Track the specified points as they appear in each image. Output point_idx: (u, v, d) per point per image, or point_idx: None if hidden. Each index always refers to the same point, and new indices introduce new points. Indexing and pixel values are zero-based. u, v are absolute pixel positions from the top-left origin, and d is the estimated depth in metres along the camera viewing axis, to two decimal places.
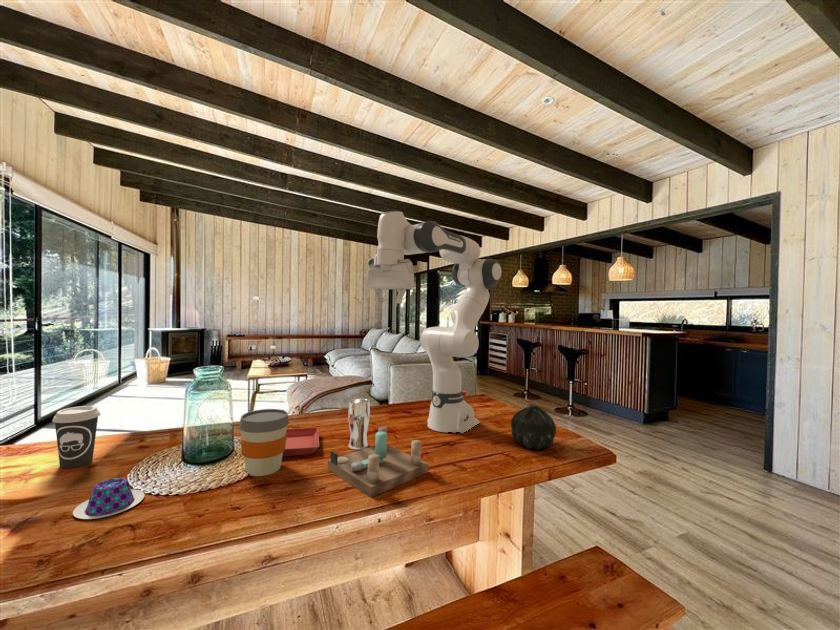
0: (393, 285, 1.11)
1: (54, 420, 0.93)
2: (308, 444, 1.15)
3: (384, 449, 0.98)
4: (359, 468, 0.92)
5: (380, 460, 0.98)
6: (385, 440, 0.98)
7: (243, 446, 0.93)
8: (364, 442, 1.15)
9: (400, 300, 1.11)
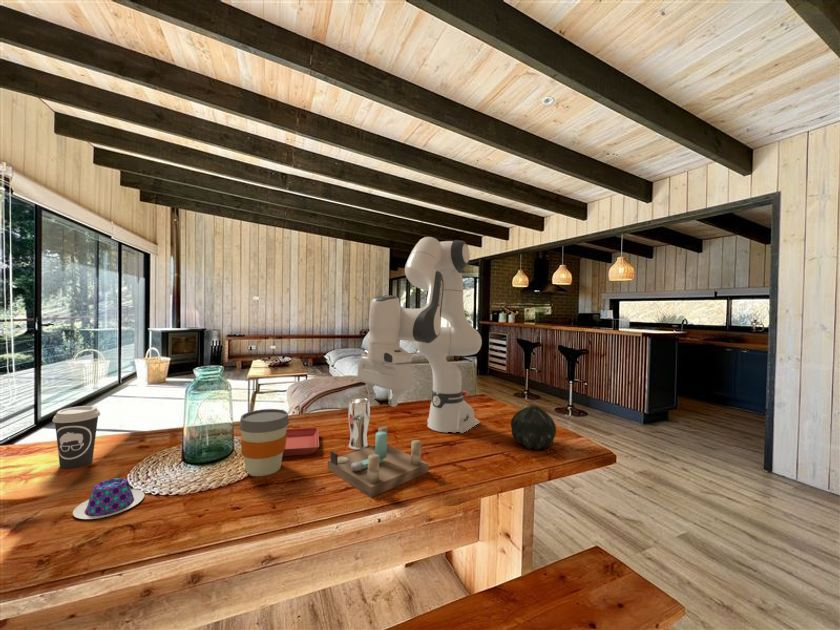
0: None
1: (54, 420, 0.93)
2: (308, 444, 1.15)
3: (384, 449, 0.98)
4: (359, 468, 0.92)
5: (380, 460, 0.98)
6: (385, 440, 0.98)
7: (243, 446, 0.93)
8: (364, 442, 1.15)
9: None
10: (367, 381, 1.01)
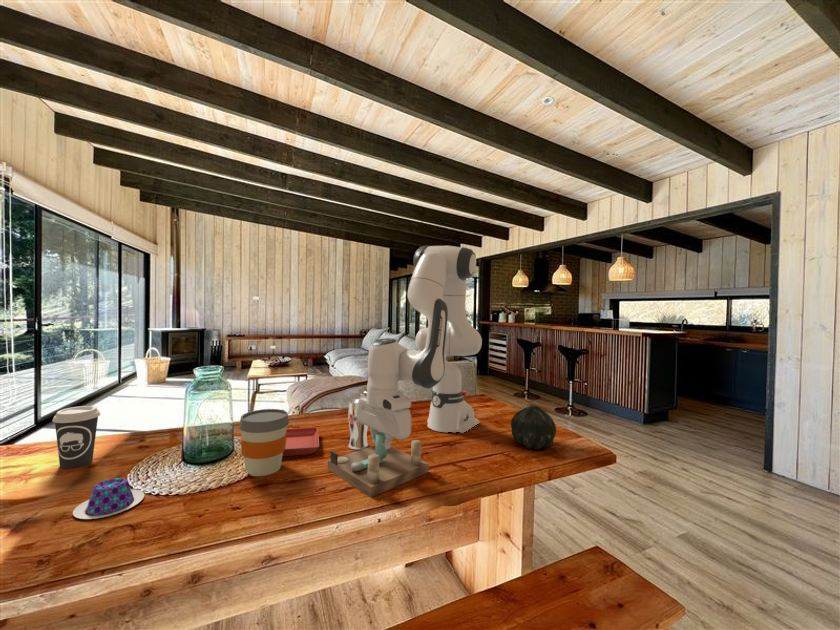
0: None
1: (54, 420, 0.93)
2: (308, 444, 1.15)
3: (384, 449, 0.98)
4: (359, 468, 0.92)
5: (380, 460, 0.98)
6: None
7: (243, 446, 0.93)
8: (364, 442, 1.15)
9: None
10: (366, 423, 1.01)
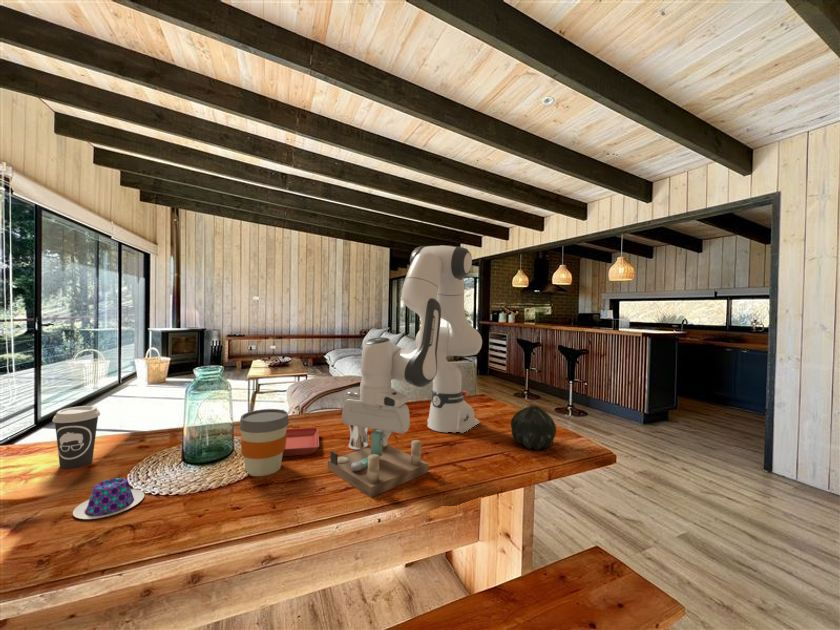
0: None
1: (54, 420, 0.93)
2: (308, 444, 1.15)
3: (380, 447, 0.99)
4: (360, 468, 0.93)
5: None
6: (381, 438, 1.00)
7: (243, 446, 0.93)
8: (364, 442, 1.15)
9: None
10: (357, 424, 1.00)
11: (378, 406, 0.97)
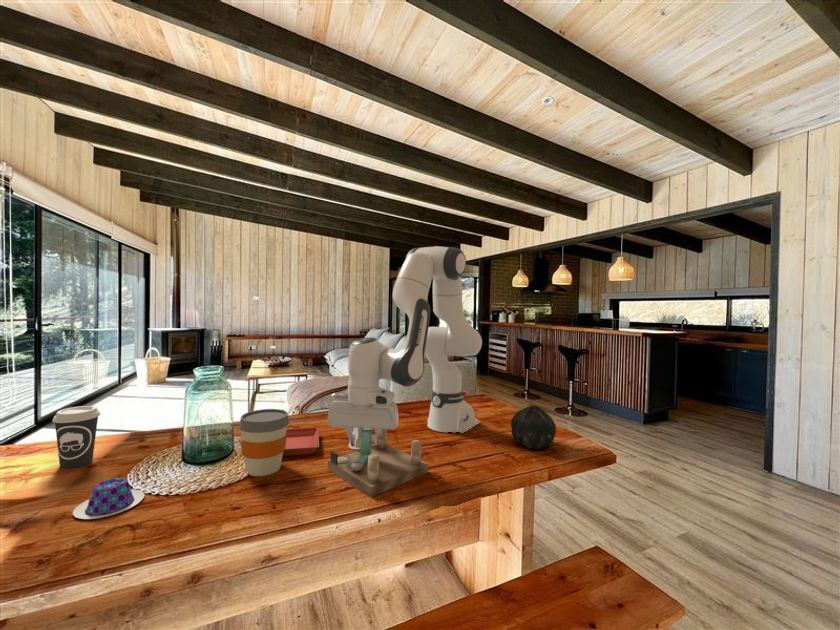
0: None
1: (54, 420, 0.93)
2: (308, 444, 1.15)
3: None
4: (362, 467, 0.93)
5: None
6: (371, 435, 1.01)
7: (243, 446, 0.93)
8: None
9: None
10: (345, 425, 1.00)
11: (368, 405, 0.99)
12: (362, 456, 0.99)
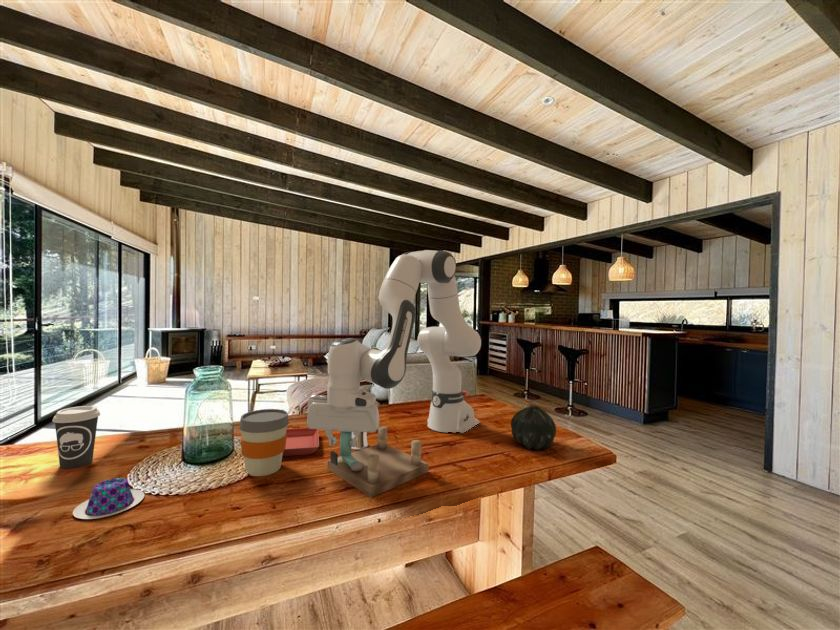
0: None
1: (54, 420, 0.93)
2: (308, 444, 1.15)
3: None
4: None
5: None
6: None
7: (243, 446, 0.93)
8: (364, 442, 1.15)
9: None
10: (324, 427, 0.98)
11: (348, 407, 0.96)
12: (348, 457, 0.98)
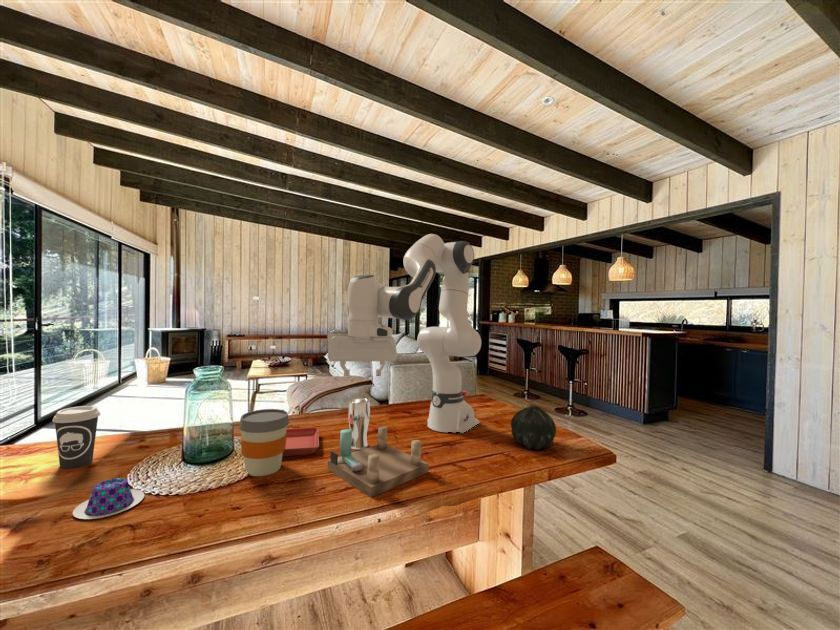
0: None
1: (54, 420, 0.93)
2: (308, 444, 1.15)
3: None
4: None
5: None
6: None
7: (243, 446, 0.93)
8: (364, 442, 1.15)
9: (344, 372, 1.05)
10: (346, 359, 1.03)
11: (369, 338, 1.02)
12: (348, 457, 0.98)
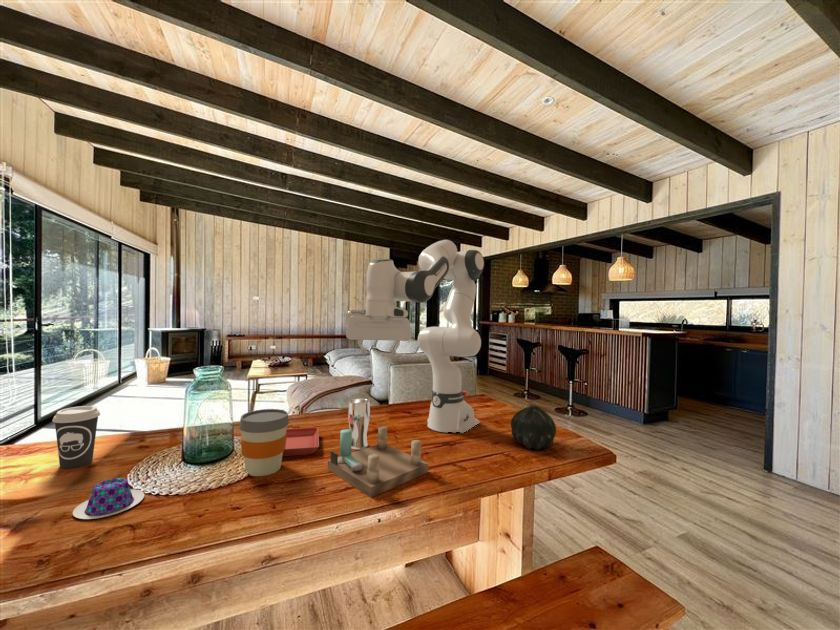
0: None
1: (54, 420, 0.93)
2: (308, 444, 1.15)
3: None
4: None
5: None
6: None
7: (243, 446, 0.93)
8: (364, 442, 1.15)
9: (361, 351, 1.10)
10: (363, 337, 1.08)
11: (386, 318, 1.08)
12: (348, 457, 0.98)
